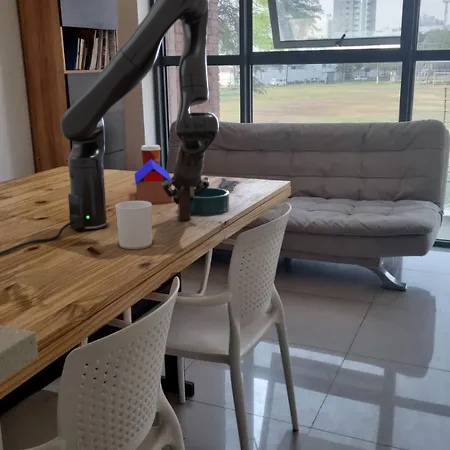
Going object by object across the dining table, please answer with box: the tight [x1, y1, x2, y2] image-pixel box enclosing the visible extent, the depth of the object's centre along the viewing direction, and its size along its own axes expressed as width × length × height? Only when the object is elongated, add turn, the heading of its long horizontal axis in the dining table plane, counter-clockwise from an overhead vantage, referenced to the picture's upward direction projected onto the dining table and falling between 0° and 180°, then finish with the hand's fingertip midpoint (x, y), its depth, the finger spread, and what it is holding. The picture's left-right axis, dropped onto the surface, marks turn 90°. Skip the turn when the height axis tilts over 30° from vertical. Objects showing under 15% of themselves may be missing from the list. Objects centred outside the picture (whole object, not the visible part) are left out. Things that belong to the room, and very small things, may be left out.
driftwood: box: [217, 177, 239, 191], centre depth 218 cm, size 21×7×2 cm, turn 173°
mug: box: [115, 200, 153, 250], centre depth 149 cm, size 11×9×10 cm
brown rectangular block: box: [177, 190, 191, 222], centre depth 172 cm, size 3×3×9 cm
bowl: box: [190, 187, 230, 216], centre depth 184 cm, size 15×15×6 cm
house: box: [134, 159, 173, 204], centre depth 202 cm, size 12×20×12 cm, turn 9°
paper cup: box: [140, 144, 162, 167], centre depth 229 cm, size 8×8×14 cm
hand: (182, 201), depth 174 cm, fingers closed on brown rectangular block, 3 cm apart
